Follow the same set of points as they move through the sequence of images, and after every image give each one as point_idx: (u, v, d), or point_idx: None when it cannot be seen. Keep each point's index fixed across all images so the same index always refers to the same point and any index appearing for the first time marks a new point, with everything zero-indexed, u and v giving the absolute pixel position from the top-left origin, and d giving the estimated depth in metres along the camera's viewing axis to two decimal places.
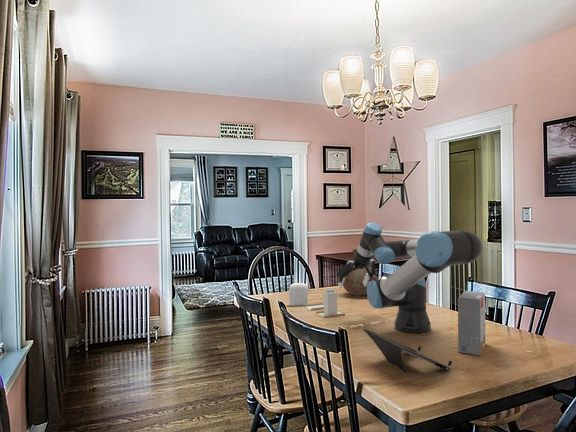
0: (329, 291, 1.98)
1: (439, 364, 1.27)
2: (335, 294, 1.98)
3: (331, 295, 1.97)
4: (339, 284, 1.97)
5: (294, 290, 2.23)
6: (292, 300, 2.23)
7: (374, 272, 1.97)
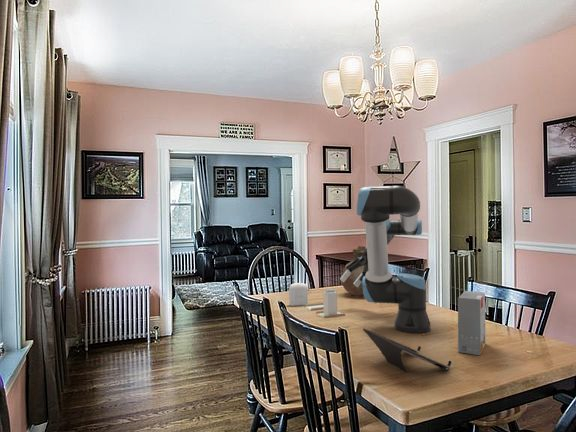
0: (329, 291, 1.98)
1: (439, 364, 1.27)
2: (335, 294, 1.98)
3: (331, 295, 1.97)
4: None
5: (294, 290, 2.24)
6: (292, 300, 2.23)
7: (367, 270, 1.96)
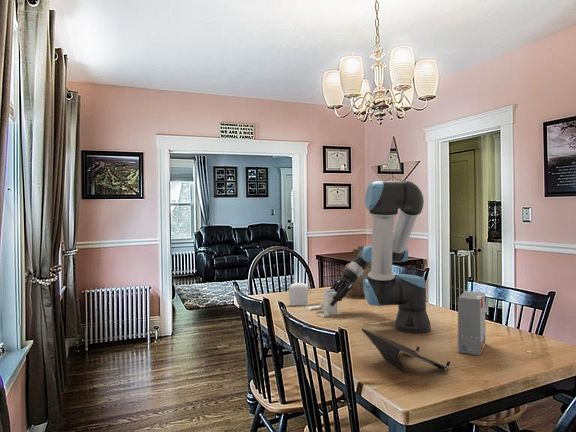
0: (329, 291, 1.98)
1: (437, 364, 1.27)
2: (335, 294, 1.98)
3: (331, 295, 1.97)
4: None
5: (294, 290, 2.23)
6: (292, 300, 2.23)
7: (338, 294, 1.95)
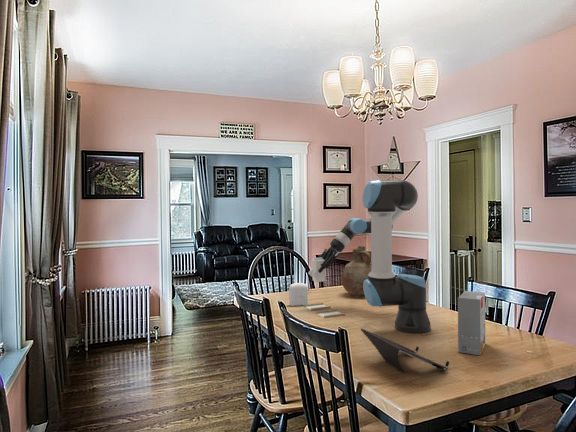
0: (317, 259, 2.11)
1: (436, 364, 1.27)
2: None
3: (319, 262, 2.10)
4: None
5: (294, 290, 2.23)
6: (292, 300, 2.23)
7: (326, 262, 2.08)
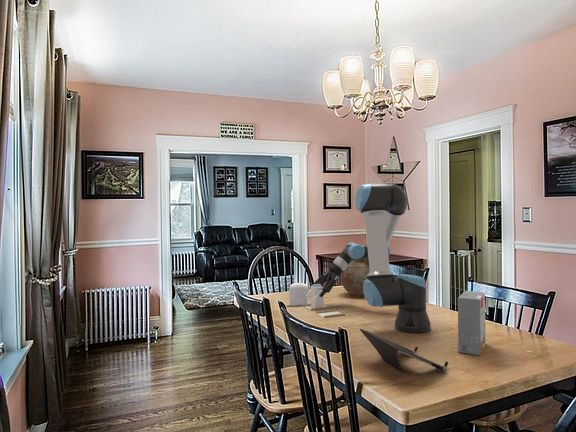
0: (316, 286, 2.13)
1: (435, 365, 1.27)
2: (321, 288, 2.13)
3: (318, 289, 2.12)
4: None
5: (294, 290, 2.23)
6: (292, 300, 2.23)
7: (327, 286, 2.08)
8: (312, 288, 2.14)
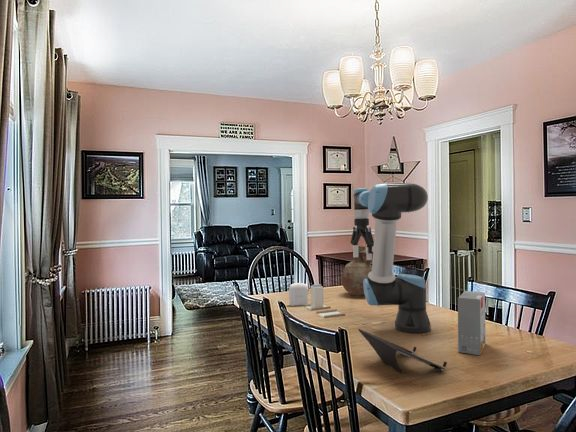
0: (316, 286, 2.13)
1: (434, 365, 1.26)
2: (321, 288, 2.13)
3: (318, 289, 2.12)
4: None
5: (294, 290, 2.24)
6: (292, 300, 2.23)
7: (369, 242, 2.04)
8: (312, 288, 2.14)
